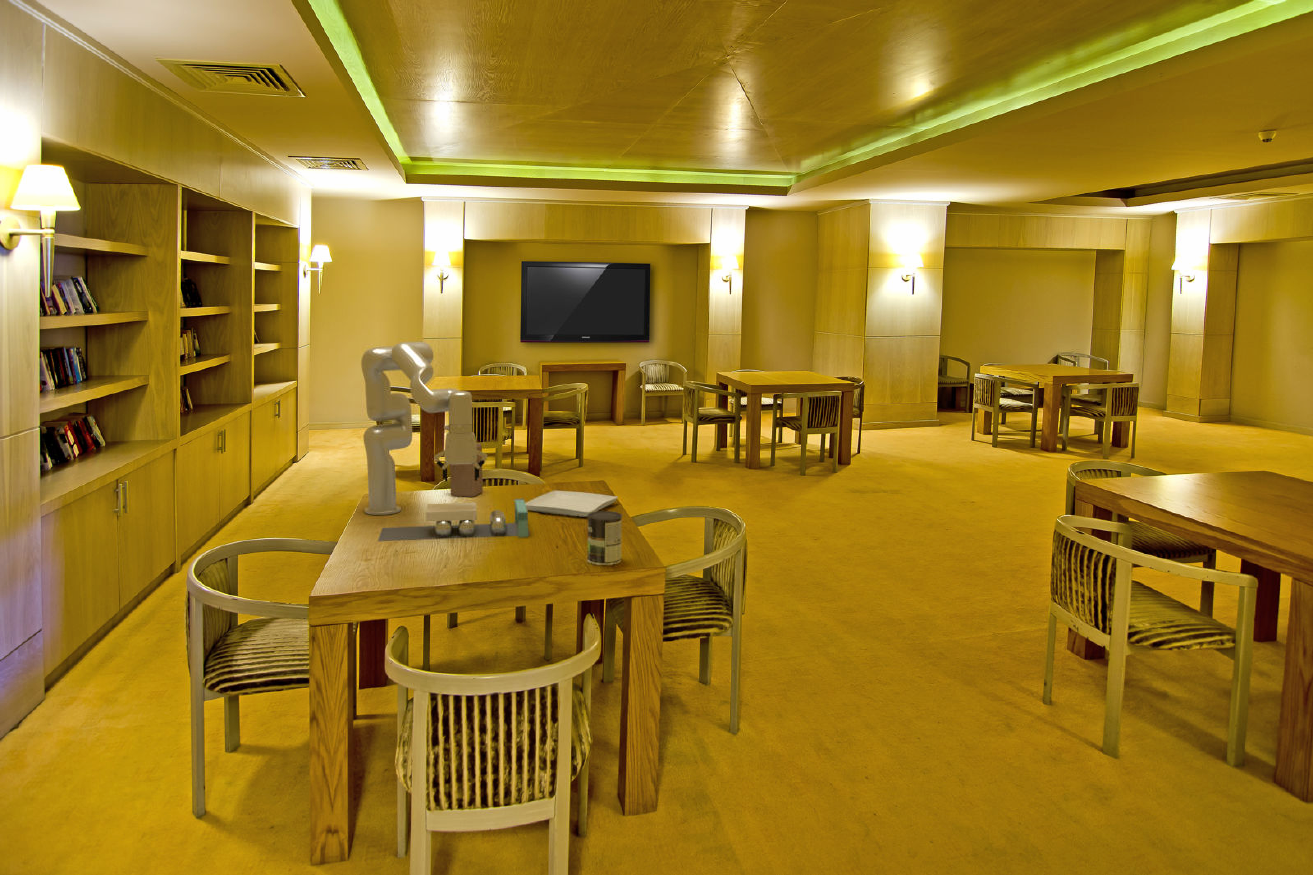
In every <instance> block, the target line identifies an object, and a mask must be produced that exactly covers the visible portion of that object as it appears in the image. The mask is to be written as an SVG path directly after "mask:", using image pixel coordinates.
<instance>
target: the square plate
mask: <svg viewBox="0 0 1313 875" xmlns="http://www.w3.org/2000/svg"><path fill="white" fill-rule="evenodd" d="M618 498H619V497H618V496H615V495H614V496H613V495H608V494H607V495H606V494H601V493H600V494H598V493H591V492H583V491H582V492H580V491H568V490H567V491H565V490H552V491H550V492H547V493H545V494H541V495H540V496H537V497H535V498H533V499H531V500H528V501H526V502H525V505H526V509H527V511H531V512H532V511H533V512H538V513H541V514H548V513H551V514H550V515H558V514H560V515H561V516H567V515H569V516H570V517H577V516H579V517H583V518H586V517H587V515H588V514H589V513H592V512H598V511H601V510H602V509H604V508H606V507H608V506H610V505H612V504H613V503H614V502H615V501H616V500H618ZM569 516H568V517H569Z"/></svg>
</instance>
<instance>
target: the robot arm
mask: <svg viewBox="0 0 1313 875" xmlns="http://www.w3.org/2000/svg"><path fill="white" fill-rule="evenodd" d="M433 359H434V350H433V349H432V347H431V346H430V345H429V344H428V343H427V342H425V341H403V342H399V343H396V344H395V345H394V346H376V347H372V348H369V349H367V350H365V351H364V353H363V354H362V357H361V361H360V362H361V363H360V364H361V370H362V371H361V372H362V376H363V379H364V383H365V406H366V414H367V417H368V419H369V420H370V421H374V422H384V421H385V422H387V421H392V423H383V424H377V425H372V426H369V427H368V428H367V429H365V431H364V433H363V444H364V448H365V454H366V461H367V462H366V463H367V468H366V469H367V485H368V486H367V488H368V493H367V494H368V506H367V507H365V508H364V513H366V514H367V515H373V516H385V515H393V514H397V513H400V512H401V510H402V508H401V507H402V506H400V505H397V491H396V490H397V488H396V464H395V463H396V462H395V460H394V458H393V456H392V455H391V454H390V451H393V450H395V451H396V450H400V449H406V448H408V447H409V446H410V445H411V444H412V441H413V418H412V405H411V402H410V399H409V398H408V396H407V395H405V394H404V393H400V392H394V393H392V392H391V383H390V379H389V377H388V376H387V374H386V373H385V372H389V371H390V372H391V371H392V372H394V371H402V372H403V374H404V375H405V376H406V377H407V378H408V379H409V381H410V383H409V390H410V394H411V395H410V396H411V398H412V399H413V401H414V402H415V403H416V405H418V407H419V408H420V409H421V410H423V411H424V412H426V413H429V414H434V413H436V414H437V413H443V412H447V413H448V424H447V425H444V426H443V429H444V431H447V432H446V435H445V443H444V450H443V451H440V452H438V453H437V454H435V455H433V459H434V461H435V463H436V464H437V466H439V468H441V470H442V479H443V480H444V482H448V468H447V467H448V466H450V464H473V465H474V466H475V481H477V478H479V468H480V467H481V466H482V467H483V465H484V464H485V462H486V461H487V459H488V454H487V453H484V452H483V451H482V452H481V451H478V450H476V443H477V439H476V435H475V433H474V432H473V396H472V393H471V392H469V391H465V390H459V389H457V388H440V389H429V388H428V387H427V386H426V384H428V382H430V380H431V379H432V377H433V375H434V367H433V365H431V363H432V362H433ZM477 455H479V456H481V457H482V460H481V461H480V462H479V463H478V462H477V461H476V460H477ZM443 456H444V462H442V461H441V460H440V458H442V457H443Z"/></svg>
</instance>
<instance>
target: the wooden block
mask: <svg viewBox="0 0 1313 875" xmlns="http://www.w3.org/2000/svg"><path fill="white" fill-rule="evenodd" d="M482 445H483V444H481V443H477V442H476V450H478V451H481V452H483V446H482ZM481 460H482V457H481V456H479V455H477V460H476V461H477V462H478V463H479V462H480V461H481ZM449 469H450V470H449V472H450V473H449V474H450V479H449V480H450V495H451V497H460V496H463V497H462V498H464V497H465V498H474V497H477V496H478V495H479V494H482V493H483V489H484V488H483V486H484V485H483V465H482V466H481V467H480V468H479V478H477V481H475V466H474V465H473V464H449Z"/></svg>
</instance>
